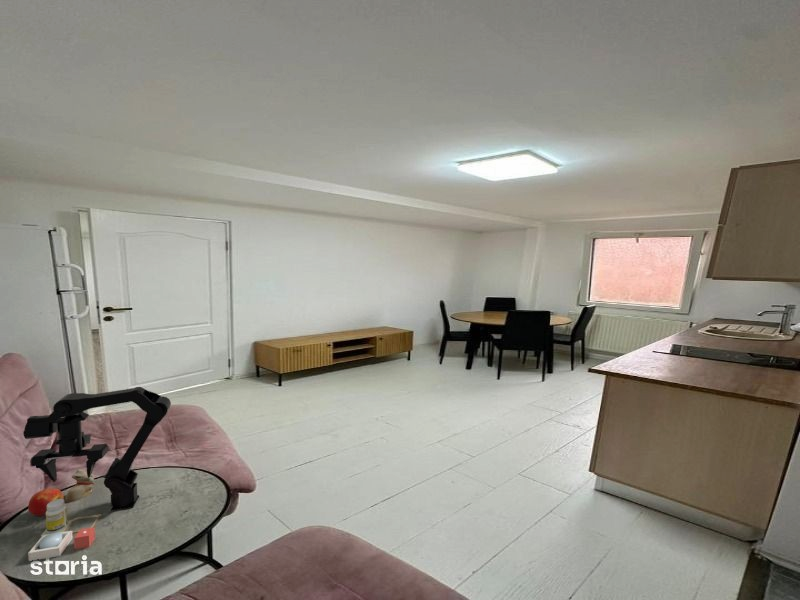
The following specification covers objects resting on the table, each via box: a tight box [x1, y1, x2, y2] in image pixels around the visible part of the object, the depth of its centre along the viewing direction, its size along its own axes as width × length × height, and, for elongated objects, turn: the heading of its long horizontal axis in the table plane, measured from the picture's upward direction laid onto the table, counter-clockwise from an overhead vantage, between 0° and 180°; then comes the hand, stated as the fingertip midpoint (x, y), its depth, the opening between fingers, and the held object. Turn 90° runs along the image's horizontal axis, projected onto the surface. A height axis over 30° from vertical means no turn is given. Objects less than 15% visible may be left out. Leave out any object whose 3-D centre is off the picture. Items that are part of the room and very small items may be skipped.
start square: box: [64, 513, 102, 534], centre depth 118 cm, size 7×7×1 cm
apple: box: [27, 488, 64, 517], centre depth 122 cm, size 8×8×8 cm
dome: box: [39, 532, 62, 549], centre depth 108 cm, size 5×5×3 cm
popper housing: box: [27, 530, 74, 562], centre depth 108 cm, size 7×7×2 cm
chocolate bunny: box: [64, 468, 95, 503], centre depth 131 cm, size 6×8×10 cm
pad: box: [40, 519, 73, 538], centre depth 116 cm, size 6×6×1 cm
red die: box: [73, 526, 96, 550], centre depth 110 cm, size 4×4×4 cm
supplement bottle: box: [45, 498, 68, 533], centre depth 115 cm, size 5×5×8 cm
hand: (72, 478), depth 122 cm, fingers open, 9 cm apart
